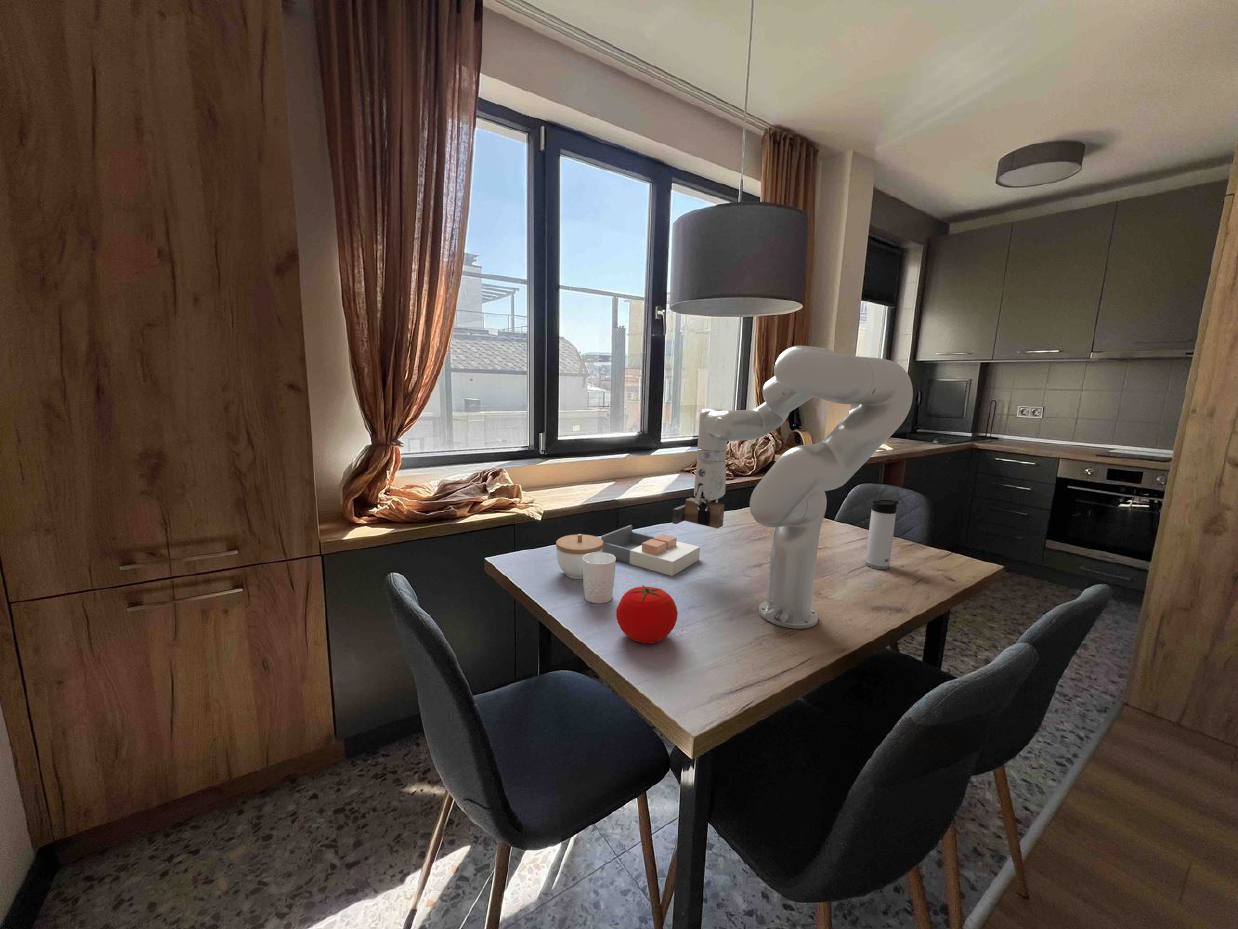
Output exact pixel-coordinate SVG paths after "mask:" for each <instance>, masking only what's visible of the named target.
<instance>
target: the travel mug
mask: <svg viewBox="0 0 1238 929" xmlns="http://www.w3.org/2000/svg"><path fill="white" fill-rule="evenodd" d="M898 505H900V503H899V501H898V500H896V499H894V500H892V499H876V500H873V502H872V507H871V509H870V510H871V513H870V520H869V530H868V536H867V537H868V538H867V546H866V555H865V561H864V562H865V565H866V567H868V566H870V567H869V568H871V567H872V568H871V569H874V568H876V569H875V570H879V569H886V570H888V569H887V568H890V563H891V556H892V547H893V543H894V542H893V539H894V533H895V523H896V516H897V507H898Z"/></svg>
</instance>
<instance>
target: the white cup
mask: <svg viewBox="0 0 1238 929" xmlns="http://www.w3.org/2000/svg"><path fill="white" fill-rule="evenodd" d="M616 562H617V560H616V557H615V556H614V555H612V554H609V553H603V552H594V553H589V554H586V555H584V556H583V579H582V580H583V591H584V599H585V600H586V602H589V603H592V604H605V603H608V602H610V601H612V599H613V592H614V587H615V586H614V584H615V574H616Z"/></svg>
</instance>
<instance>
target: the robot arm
mask: <svg viewBox="0 0 1238 929" xmlns="http://www.w3.org/2000/svg"><path fill="white" fill-rule="evenodd" d="M773 374H774V376H772V377H771V378H770V379H768V380H767V381H766V382H765V383H764V385H763V386H762V396H763V400H764V402H763V403H762V404H760V405H759V406H757V407H756V408H753V409H751V410H750V409H741V410H740V409H737V410H736V409H735V410H731V409H730V410H727V409H723V408H703V409H701V411H700V412H699V419H698V422H699V423H698V435H697V436H698V437H697V451H696V453H697V454H696V462H697V466H696V470H695V475H694V476H695V477H694V486H693V496H694V497H695V498H696V499H695V503H696V504H697V506H698V521H697V523H698V524H697V525H700V524H701V526H704V525H706V526H705V527H709V526H708V525H709V519H710V511H709V504H710V501H711V502H716V503H719V502H718V501H719V500H720V498H722V497H724V495H725V494H726V486H727V482H726V481H727V467H726V465H727V464H726V462H727V461H726V460H727V450H728V442H739V441H753V440H758V439H761V438H763V437H765V436H766V435H768V434H770V433H772V432H774V431H776V430H777V429H778V428H779V427H781V426H782V425H783V424H784V423H785V422H786V420H787V419H788V417H789V415H790V413H791V412H792V411H794V410H796V409H797V408H798V407H800V406H802V405H804V403H806V402H808V401H809V400H811V399H813V398H816V399H818V400H823V401H826V402H830V403H835V404H840V405H841V404H842V405H858V406H857V407H856V408H855V409H854V410H853V411H851V412H850V413H849V414H847V415H846V416H845V417H843V418H842V419H841V420H840V421H839V422H838V424H836V426H835V427H834V428H833V430H832V431H831V432H830V433H829V434H828V435H827V436H825V438H824V439H823V440H821V441H820V442H817V443H810V444H801V445H797V446H794V447H792V448H790V449H788V450H787V451H785V452H784V453H783V454H781V455H780V456H779V458H778V459H777V460H776V461H775V463H774V464H772V466H771V467H770V469H769V470H768V471H767V472H766V473H765V475H764V476H763V477H762V478H761V480H760V481H759V482H758V483H757V485H756V486H755V487H754V489H753V491H752V493H751V496H750V499H749V510H750V514H751V516H752V519H754V520H755V521H756V522H757V523H758V524H759V525H760V526H763V527H766V528H774V529H773V533H772V539H771V548H770V558H769V560H770V562H769V572H768V581H767V582H768V583H767V584H768V585H767V596H766V600H763V601H762V602H761V603H760V604H759V606H758V612H759V614H760V616H761V617H762V618H763V619H765V620H766V621H767V622H770V623H771V624H773V625H776V626H779V627H783V628H787V629H798V630H801V629H810V628H813V627H815V625H817V624H818V622H819V621H818V620H819V615H818V613H817V612H816V610H815V609H813V608H812V606H813V596H814V586H815V585H814V584H815V576H816V568H817V566H816V564H817V557H818V556H817V555H818V547H819V546H818V545H819V539H820V532H821V528H822V524H823V521H824V519H825V514H826V510H827V502H828V501H827V495H826V492H827V491H832V490H836V489H838V488H840V487H843V486H844V485H845V484H846V483H847V482H848V481H849V480H850V479H851V478H852V477H853V476H854V475H855V473H857V472H858V470H860V469H861V467H862V466H863V465H865V463H866V462H868V461H869V459H871V457H872V456H873V455H874V454H875V453H876V451H877V450H878V449H879V448H881V446H882V445H883V444H884V443H885V442H887V440H888V439H889V438H890V437H891V436H892V435H894V434H895V432H896V431H897V430H898V429H899V428H900V426H901V425H902V424H903V423H904V421H905V420H906V418H907V416H908V415H909V412H910V410H911V407H912V403H913V397H914V396H913V395H914V392H913V384H912V380H911V377H910V376H909V374H908V372H907V370H905V368H904V367H902V365H900V364H898V363H897V362H895V361H892V360H890V359H885V358H881V357H879V358H878V357H868V356H866V357H865V356H858V355H857V356H856V355H848V354H841V353H837V352H835V351H833V350H832V349H829V348H826V347H818V346H808V345H794V346H791V347H789V348H787V349H785V350H784V351H782V353H780V354H779V356H778V357H777V359H776V361H775V364H774V368H773ZM703 501H705V502H706V505H705V503H704V502H703Z"/></svg>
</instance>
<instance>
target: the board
mask: <svg viewBox="0 0 1238 929" xmlns="http://www.w3.org/2000/svg"><path fill="white" fill-rule="evenodd" d="M700 550H701V546H698V545H694V544H691V543H685V542H681V541H676V546H674V547H672V548H670V549H668V550H667V549H666V551H664V552H662V553H660V554H658V555H654V554H650V553H646V552H643V551H642V545H641V546H638V547H636V548H634V549H632V550H630V564H629V565H633V566H637V567H640V568H643V569H647V570H651V571H654V572H657V573H660V574H663V575H664V574H665V575H667V576H671V577H672V576H675V575H676V574H678V573H679V572H681V571H683V570H685V569H686V568H688V567H689V566H692V564H694V563H696V562H698V561H700V553H701V552H700Z"/></svg>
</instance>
